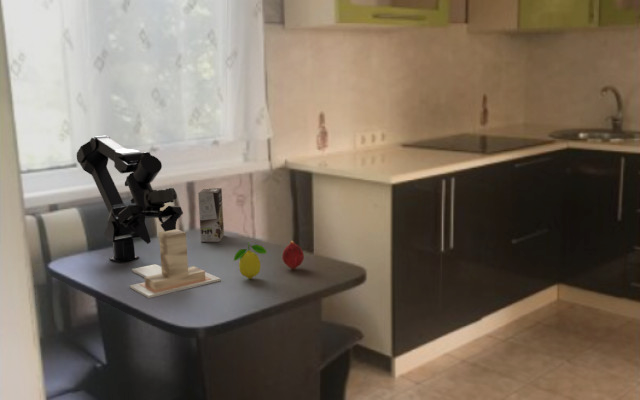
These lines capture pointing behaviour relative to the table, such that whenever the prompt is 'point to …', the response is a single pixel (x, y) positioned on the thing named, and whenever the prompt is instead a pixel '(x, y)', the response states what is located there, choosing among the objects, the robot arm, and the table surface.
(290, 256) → the onion
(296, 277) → the table surface
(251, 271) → the lemon
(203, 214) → the coffee box
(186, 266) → the birch tee block
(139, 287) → the tee mat
